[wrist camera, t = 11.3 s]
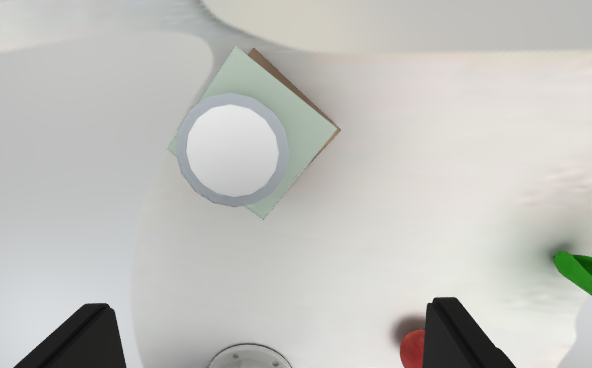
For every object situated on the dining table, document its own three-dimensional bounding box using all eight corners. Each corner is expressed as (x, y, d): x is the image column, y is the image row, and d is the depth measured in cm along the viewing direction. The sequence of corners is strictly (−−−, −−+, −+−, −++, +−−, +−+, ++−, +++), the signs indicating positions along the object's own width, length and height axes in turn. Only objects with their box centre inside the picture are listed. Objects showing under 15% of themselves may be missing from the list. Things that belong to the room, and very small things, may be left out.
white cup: (273, 81, 24) (262, 73, 17) (305, 163, 25) (306, 184, 19) (194, 115, 25) (153, 119, 18) (230, 191, 26) (205, 222, 19)
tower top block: (269, 201, 32) (263, 219, 27) (188, 141, 30) (166, 149, 25) (332, 124, 29) (337, 128, 25) (247, 55, 28) (235, 46, 23)
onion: (439, 315, 40) (471, 366, 32) (435, 351, 41) (464, 409, 34) (394, 315, 40) (415, 366, 32) (391, 351, 42) (411, 408, 34)
